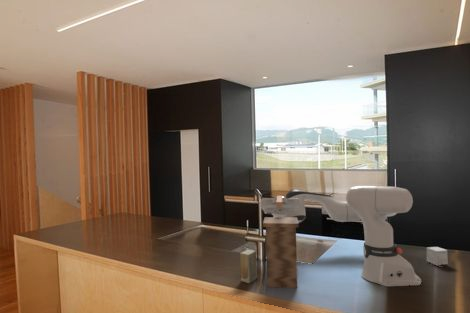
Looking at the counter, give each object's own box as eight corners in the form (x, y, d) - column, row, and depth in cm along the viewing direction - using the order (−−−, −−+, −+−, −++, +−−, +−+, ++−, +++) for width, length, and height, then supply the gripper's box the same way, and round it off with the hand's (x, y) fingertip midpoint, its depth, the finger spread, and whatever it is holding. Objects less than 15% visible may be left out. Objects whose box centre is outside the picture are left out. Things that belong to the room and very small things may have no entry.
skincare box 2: (436, 267, 143) (436, 251, 143) (426, 262, 149) (426, 247, 149) (448, 266, 144) (447, 250, 144) (437, 261, 150) (437, 246, 150)
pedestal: (298, 277, 135) (297, 217, 135) (299, 289, 123) (298, 223, 123) (266, 276, 137) (264, 217, 137) (264, 287, 125) (262, 223, 125)
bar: (282, 200, 159) (282, 195, 159) (282, 207, 138) (282, 201, 138) (277, 200, 159) (277, 195, 159) (276, 207, 139) (276, 201, 139)
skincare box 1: (249, 276, 137) (248, 248, 137) (257, 278, 135) (256, 250, 134) (240, 281, 132) (239, 252, 132) (248, 283, 130) (247, 254, 130)
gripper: (300, 213, 164) (301, 204, 152) (261, 213, 167) (259, 204, 155) (299, 202, 167) (300, 192, 155) (261, 202, 170) (259, 192, 158)
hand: (279, 198), depth 155 cm, fingers closed on bar, 2 cm apart
